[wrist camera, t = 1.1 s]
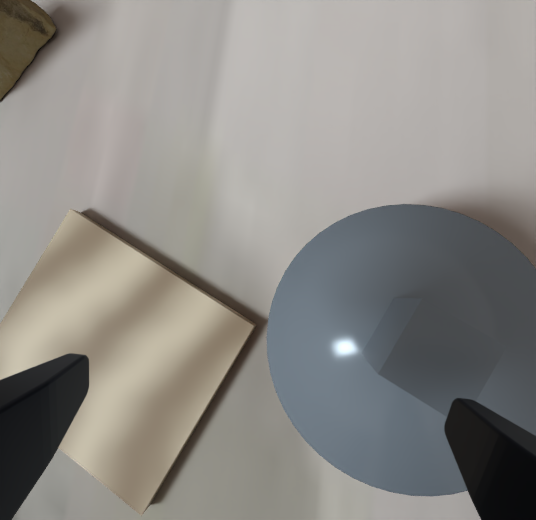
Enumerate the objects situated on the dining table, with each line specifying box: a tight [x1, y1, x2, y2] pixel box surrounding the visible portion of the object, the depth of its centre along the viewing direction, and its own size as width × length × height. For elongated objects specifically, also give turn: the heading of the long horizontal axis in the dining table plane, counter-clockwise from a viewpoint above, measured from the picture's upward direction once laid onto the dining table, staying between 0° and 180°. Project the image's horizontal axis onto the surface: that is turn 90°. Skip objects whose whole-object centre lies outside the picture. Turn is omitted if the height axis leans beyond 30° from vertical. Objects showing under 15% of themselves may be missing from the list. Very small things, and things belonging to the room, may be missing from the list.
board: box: [0, 209, 256, 516], centre depth 23 cm, size 16×14×1 cm
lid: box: [267, 204, 536, 496], centre depth 13 cm, size 13×13×5 cm
